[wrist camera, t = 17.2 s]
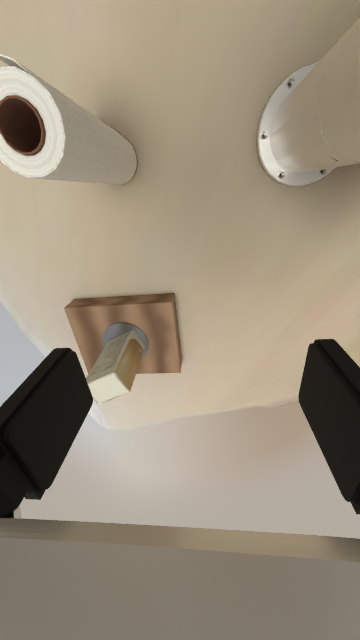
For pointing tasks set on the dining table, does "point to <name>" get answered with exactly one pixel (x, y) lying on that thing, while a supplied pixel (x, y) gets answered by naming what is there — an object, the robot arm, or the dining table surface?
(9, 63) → the paper towel roll
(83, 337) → the walnut stand
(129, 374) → the skincare box
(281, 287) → the dining table surface
